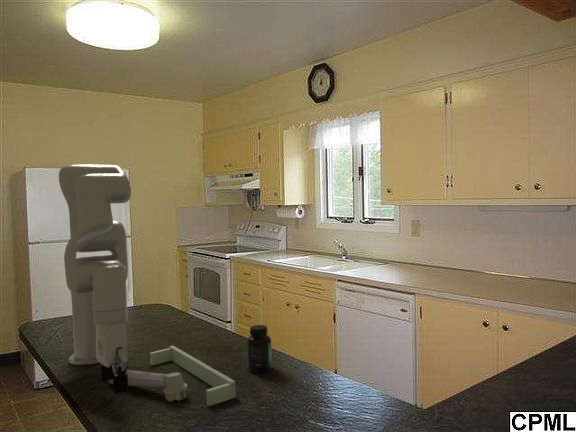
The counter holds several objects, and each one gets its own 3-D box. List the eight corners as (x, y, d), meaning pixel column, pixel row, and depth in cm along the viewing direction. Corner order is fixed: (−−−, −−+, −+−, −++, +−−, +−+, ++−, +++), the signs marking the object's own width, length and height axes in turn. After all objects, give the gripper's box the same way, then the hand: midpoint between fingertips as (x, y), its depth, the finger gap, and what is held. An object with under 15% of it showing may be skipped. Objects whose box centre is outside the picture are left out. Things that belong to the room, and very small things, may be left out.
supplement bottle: (276, 369, 129) (275, 327, 128) (256, 375, 124) (255, 332, 124) (263, 363, 134) (261, 322, 133) (243, 368, 130) (241, 327, 129)
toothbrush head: (120, 365, 125) (189, 366, 113) (123, 389, 125) (193, 394, 113) (104, 372, 120) (174, 374, 108) (107, 397, 120) (178, 402, 108)
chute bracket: (150, 364, 136) (150, 351, 135) (173, 358, 140) (172, 345, 140) (209, 406, 107) (208, 389, 107) (235, 397, 111) (235, 381, 111)
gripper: (85, 312, 115) (88, 380, 115) (105, 325, 101) (109, 401, 102) (115, 307, 120) (118, 372, 120) (139, 318, 106) (142, 392, 106)
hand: (114, 385), depth 111 cm, fingers open, 9 cm apart
